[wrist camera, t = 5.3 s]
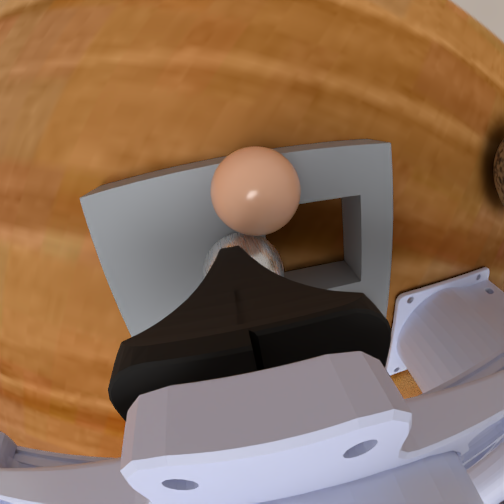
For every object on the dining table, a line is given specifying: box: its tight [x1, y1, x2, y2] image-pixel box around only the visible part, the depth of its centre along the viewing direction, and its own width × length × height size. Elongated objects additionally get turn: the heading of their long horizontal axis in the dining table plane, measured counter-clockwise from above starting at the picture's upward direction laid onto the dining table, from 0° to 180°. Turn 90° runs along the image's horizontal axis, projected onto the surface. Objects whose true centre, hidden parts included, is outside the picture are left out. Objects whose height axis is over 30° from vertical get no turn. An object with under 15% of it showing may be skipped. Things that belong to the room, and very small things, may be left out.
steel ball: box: [203, 233, 284, 279], centre depth 12 cm, size 3×3×3 cm
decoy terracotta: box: [210, 146, 301, 236], centre depth 11 cm, size 3×3×3 cm
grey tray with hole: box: [80, 139, 393, 337], centre depth 15 cm, size 14×10×2 cm
